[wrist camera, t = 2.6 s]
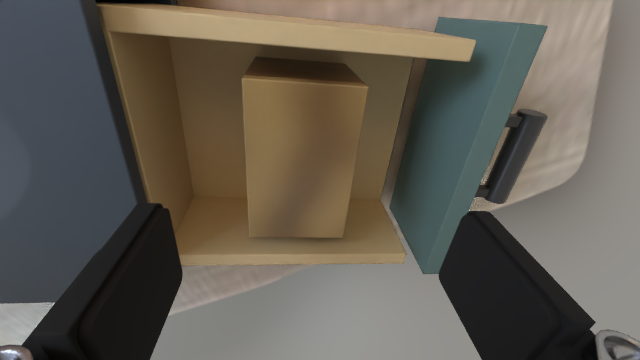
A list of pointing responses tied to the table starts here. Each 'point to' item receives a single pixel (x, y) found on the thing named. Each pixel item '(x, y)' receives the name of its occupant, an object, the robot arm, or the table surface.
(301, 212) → the box
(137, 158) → the drawer
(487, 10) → the table surface
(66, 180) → the cabinet
